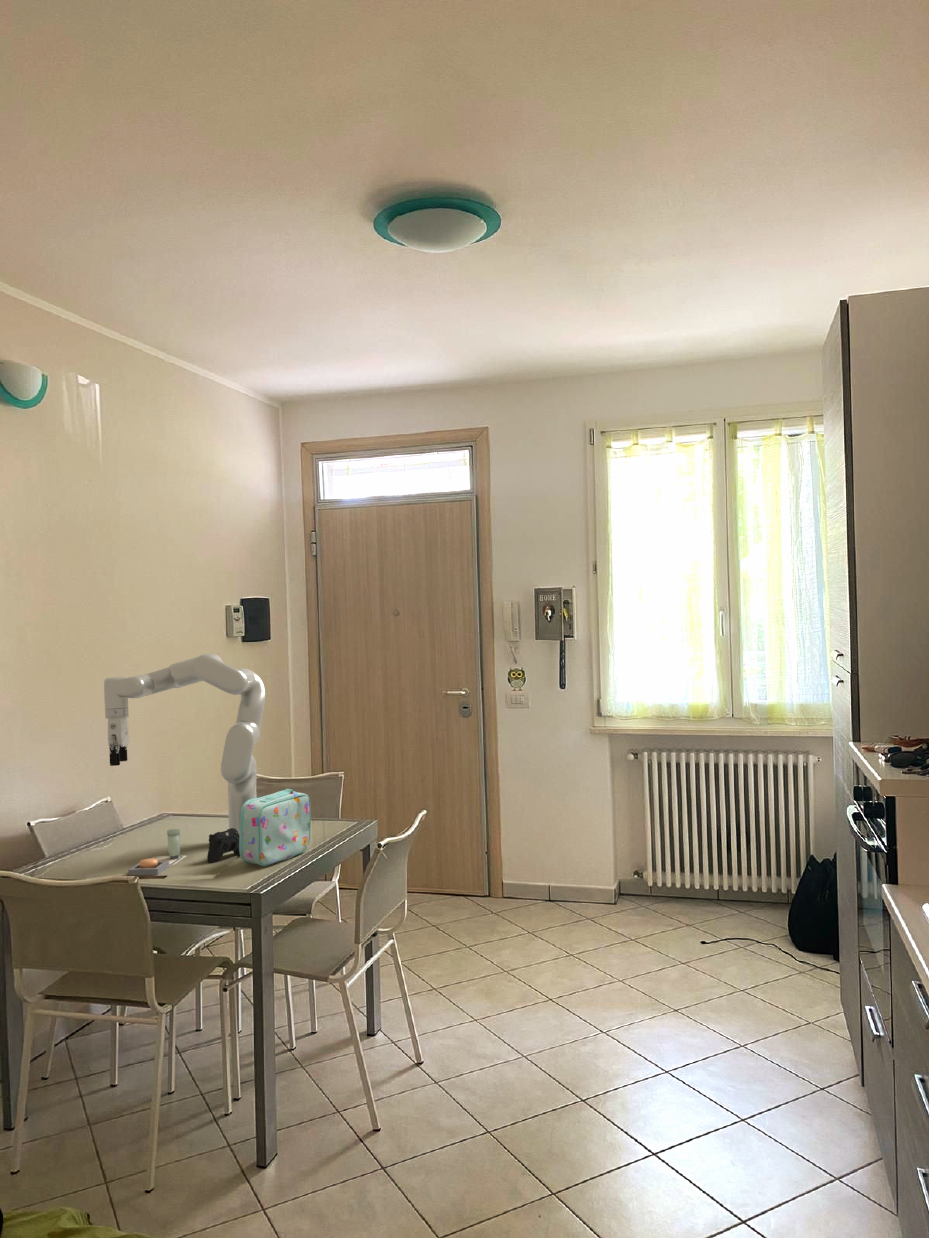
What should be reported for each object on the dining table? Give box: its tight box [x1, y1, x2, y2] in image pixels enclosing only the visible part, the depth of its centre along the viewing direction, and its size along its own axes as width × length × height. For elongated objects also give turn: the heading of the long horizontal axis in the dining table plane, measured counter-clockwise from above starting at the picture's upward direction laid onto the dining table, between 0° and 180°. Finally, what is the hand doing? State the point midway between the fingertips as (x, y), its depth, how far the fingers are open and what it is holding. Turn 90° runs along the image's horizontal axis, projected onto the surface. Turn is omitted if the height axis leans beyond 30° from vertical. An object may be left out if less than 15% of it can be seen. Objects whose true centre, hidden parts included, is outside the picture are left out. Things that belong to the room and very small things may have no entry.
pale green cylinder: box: [166, 828, 181, 860], centre depth 299 cm, size 4×4×9 cm
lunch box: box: [239, 788, 312, 867], centre depth 299 cm, size 27×10×21 cm, turn 152°
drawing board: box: [137, 854, 188, 880], centre depth 292 cm, size 13×24×1 cm, turn 177°
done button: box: [139, 857, 158, 868], centre depth 285 cm, size 5×5×2 cm
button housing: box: [127, 861, 170, 876], centre depth 285 cm, size 9×9×2 cm
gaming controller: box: [206, 828, 240, 864], centre depth 298 cm, size 14×6×10 cm, turn 148°
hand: (118, 763), depth 321 cm, fingers open, 9 cm apart
